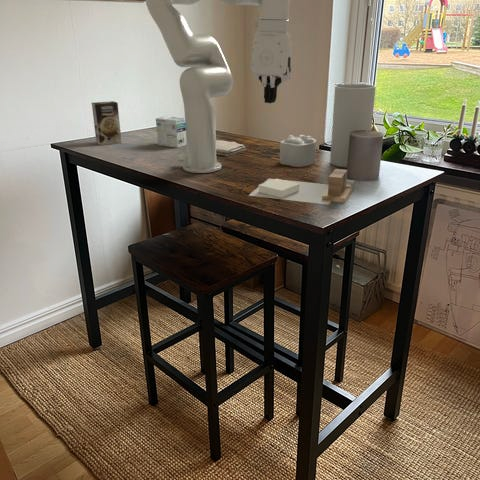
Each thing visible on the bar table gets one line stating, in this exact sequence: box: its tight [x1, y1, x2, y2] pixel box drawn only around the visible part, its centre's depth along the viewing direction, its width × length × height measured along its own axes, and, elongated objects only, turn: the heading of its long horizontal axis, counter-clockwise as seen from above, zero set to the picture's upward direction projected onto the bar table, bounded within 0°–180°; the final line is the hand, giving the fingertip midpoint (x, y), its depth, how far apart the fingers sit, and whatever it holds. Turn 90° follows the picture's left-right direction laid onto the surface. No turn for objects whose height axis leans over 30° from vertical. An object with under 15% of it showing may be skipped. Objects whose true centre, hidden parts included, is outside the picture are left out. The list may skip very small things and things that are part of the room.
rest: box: [322, 184, 354, 203], centre depth 128 cm, size 6×12×2 cm, turn 158°
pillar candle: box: [346, 129, 385, 182], centre depth 141 cm, size 10×10×15 cm
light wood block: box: [328, 168, 355, 196], centre depth 129 cm, size 14×6×5 cm, turn 158°
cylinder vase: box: [329, 83, 377, 169], centre depth 155 cm, size 12×12×25 cm
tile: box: [257, 178, 300, 198], centre depth 131 cm, size 2×8×8 cm
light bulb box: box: [155, 115, 187, 148], centre depth 188 cm, size 11×7×11 cm, turn 58°
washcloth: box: [216, 139, 247, 157], centre depth 180 cm, size 12×18×3 cm, turn 55°
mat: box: [248, 178, 332, 206], centre depth 132 cm, size 22×17×1 cm
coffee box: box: [91, 101, 123, 146], centre depth 192 cm, size 9×6×16 cm
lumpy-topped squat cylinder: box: [279, 134, 317, 168], centre depth 162 cm, size 10×13×9 cm
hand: (269, 102), depth 128 cm, fingers closed
